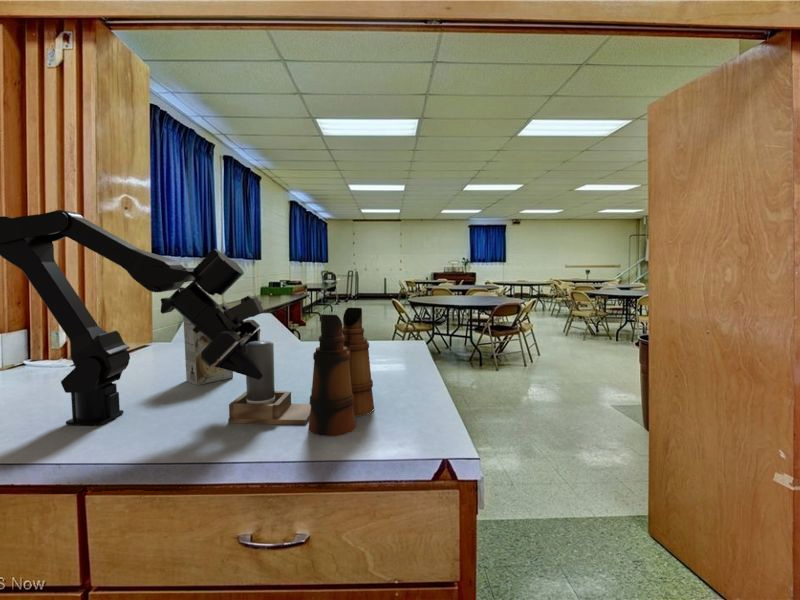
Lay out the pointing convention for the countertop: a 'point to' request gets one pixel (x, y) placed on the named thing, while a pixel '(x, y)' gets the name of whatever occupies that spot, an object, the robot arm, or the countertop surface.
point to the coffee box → (200, 359)
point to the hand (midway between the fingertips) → (266, 371)
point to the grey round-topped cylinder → (264, 360)
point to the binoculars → (340, 375)
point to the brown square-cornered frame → (269, 411)
